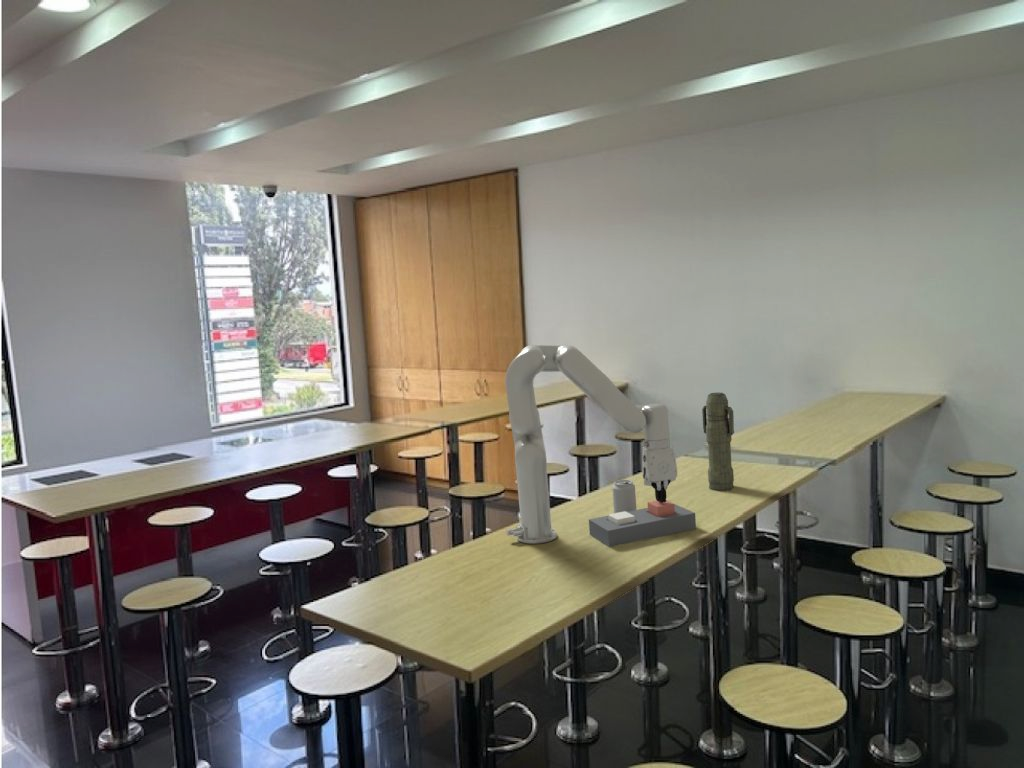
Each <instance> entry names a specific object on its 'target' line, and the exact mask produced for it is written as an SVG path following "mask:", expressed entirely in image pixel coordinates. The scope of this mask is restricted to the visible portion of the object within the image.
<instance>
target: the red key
mask: <svg viewBox="0 0 1024 768" xmlns="http://www.w3.org/2000/svg"><path fill="white" fill-rule="evenodd" d="M674 504H675V503H674V502H671V501H670V500H667V499H666V502H663V503H660V502H658V501H657V500H653V501H648V502H647V508H648V513H650V514H652V515H654V516H656V517H660V516H665V515H670V514H675V506H674Z"/></svg>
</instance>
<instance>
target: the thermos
mask: <svg viewBox="0 0 1024 768" xmlns="http://www.w3.org/2000/svg"><path fill="white" fill-rule="evenodd" d="M705 403H706V404H705V405H704V406H703V408H702V411H701V413H702V414H701V415H702V427H703V428H702V429H703V434H705V436H706V439H705V440H706V443H707V452H708V468H707V476H708V477H707V480H708V485H709V486H708V488H709V489H710V490H711V491H716V492H717V491H718V492H724V491H731V490H734V488H735V486H734V482H735V481H734V480H735V479H734V478H735V477H734V468H733V466H732V452H731V450H732V449H731V448H732V447H731V446H732V445H731V442H732V440H733V439H732V436H733V434H735V428H734V427H735V426H734V425H735V423H734V419H735V418H734V417H735V416H734V410H733V408H732V407H731V406H729V400H728V398H727V395H726V393H723V392H711V393H709V394H708V395H707V398H706V402H705Z"/></svg>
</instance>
